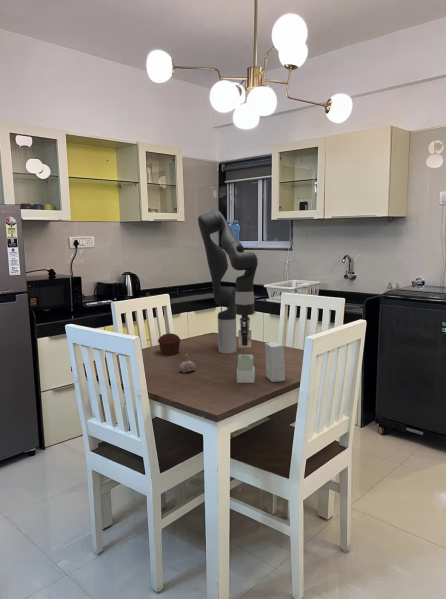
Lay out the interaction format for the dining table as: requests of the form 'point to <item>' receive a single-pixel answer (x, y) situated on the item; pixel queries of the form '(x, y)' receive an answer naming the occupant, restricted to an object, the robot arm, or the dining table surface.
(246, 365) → the sage block
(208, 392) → the dining table surface
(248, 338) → the beige metal block
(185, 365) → the garlic bulb
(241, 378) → the grey base block
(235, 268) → the robot arm
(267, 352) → the skincare box
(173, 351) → the muffin
